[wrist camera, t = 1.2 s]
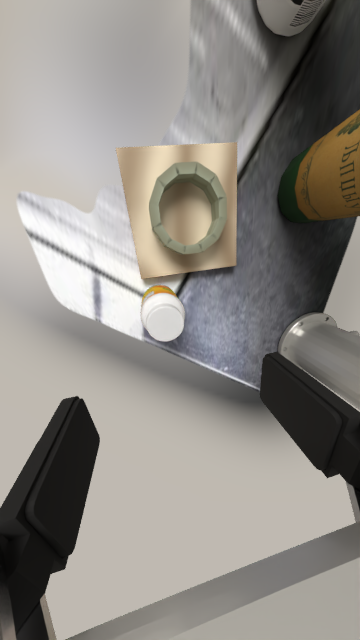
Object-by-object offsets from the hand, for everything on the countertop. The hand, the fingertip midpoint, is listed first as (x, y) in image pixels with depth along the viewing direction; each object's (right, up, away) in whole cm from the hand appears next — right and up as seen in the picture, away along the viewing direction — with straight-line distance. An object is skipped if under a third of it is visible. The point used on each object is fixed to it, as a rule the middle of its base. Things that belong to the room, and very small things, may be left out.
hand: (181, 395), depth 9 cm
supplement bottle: (-3, +7, +18) cm, 20 cm away
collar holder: (0, +18, +15) cm, 23 cm away
